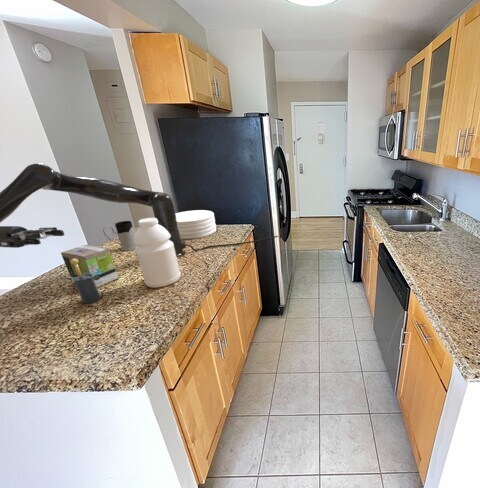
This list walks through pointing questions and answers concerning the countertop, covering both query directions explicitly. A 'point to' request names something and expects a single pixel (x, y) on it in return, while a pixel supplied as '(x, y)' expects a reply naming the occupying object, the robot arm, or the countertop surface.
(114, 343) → the countertop surface
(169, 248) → the bottle
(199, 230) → the plate stack
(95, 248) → the tea box
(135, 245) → the glass holder
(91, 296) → the spoon crock
